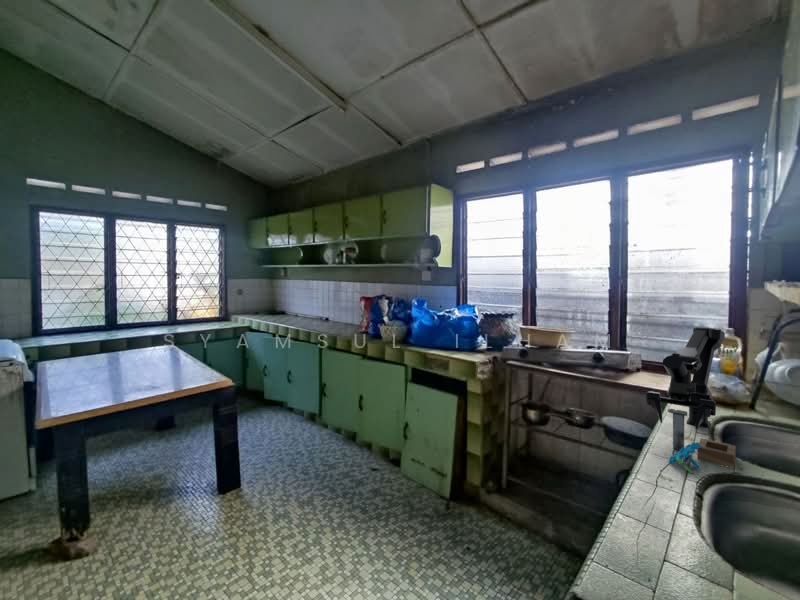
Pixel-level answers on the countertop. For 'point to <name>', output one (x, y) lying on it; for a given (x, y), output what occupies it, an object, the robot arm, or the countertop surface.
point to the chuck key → (678, 428)
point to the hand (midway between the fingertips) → (678, 425)
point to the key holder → (716, 452)
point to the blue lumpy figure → (685, 456)
